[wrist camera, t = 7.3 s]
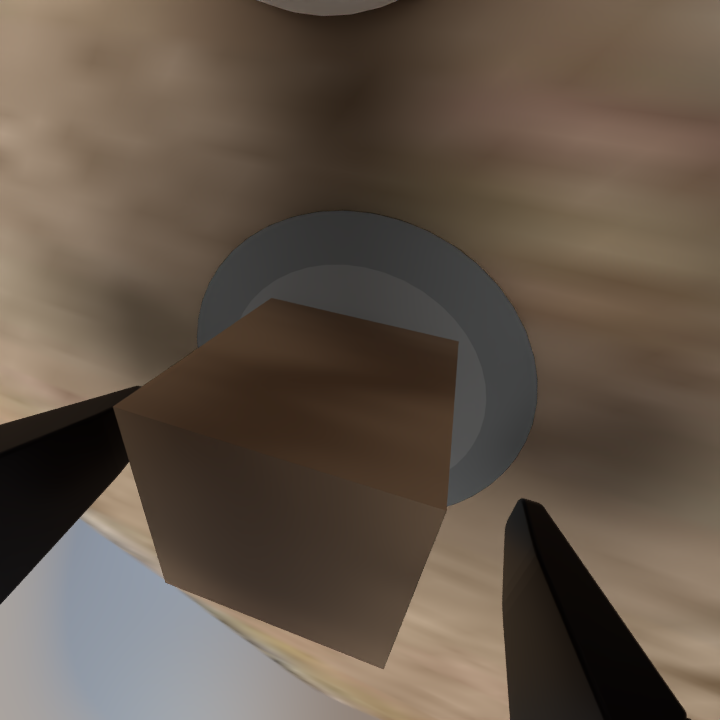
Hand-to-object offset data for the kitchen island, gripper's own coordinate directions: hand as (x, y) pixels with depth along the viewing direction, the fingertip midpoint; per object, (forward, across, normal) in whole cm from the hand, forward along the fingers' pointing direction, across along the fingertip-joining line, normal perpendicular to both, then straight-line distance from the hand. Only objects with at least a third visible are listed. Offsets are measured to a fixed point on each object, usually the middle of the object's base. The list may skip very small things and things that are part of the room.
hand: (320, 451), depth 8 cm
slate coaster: (+2, 0, 0) cm, 2 cm away
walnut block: (+2, 0, 0) cm, 2 cm away
